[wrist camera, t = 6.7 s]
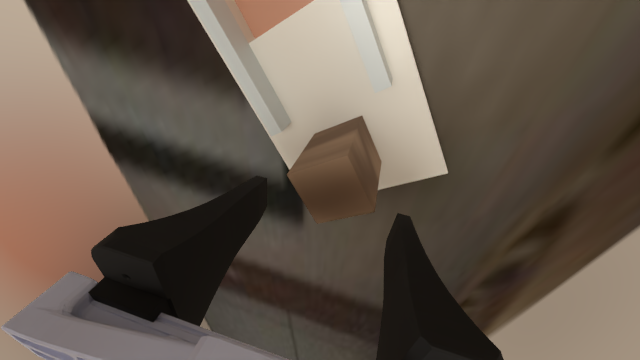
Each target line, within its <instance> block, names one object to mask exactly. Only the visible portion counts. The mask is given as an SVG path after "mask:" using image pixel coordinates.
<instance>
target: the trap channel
mask: <svg viewBox="0 0 640 360" xmlns="http://www.w3.org/2000/svg"><path fill="white" fill-rule="evenodd" d="M187 1H188V3H189V4H190V6H191V8H192V9H193V11H194V12H195V14H196V16H197V17H198V19H199V21H200V22H201V24H202V26H203V27H204V29H205V31H206V32H207V34H208V36H209V37H210V39H211V41H212V42H213V44H214V46H215V47H216V49H217V51H218V52H219V54H220V56H221V57H222V59H223V60H224V62H225V64H226V65H227V67H228V69H229V70H230V72H231V74H232V75H233V77H234V79H235V80H236V82H237V84H238V85H239V87H240V89H241V90H242V92H243V94H244V95H245V97H246V99H247V100H248V102H249V104H250V105H251V107H252V108H253V110H254V112H255V113H256V115H257V117H258V118H259V120H260V122H261V123H262V125H263V127H264V128H265V130H266V132H267V133H268V135H269V137H270V138H271V140H272V142H273V143H274V145H275V147H276V148H277V150H278V152H279V153H280V155H281V157H282V158H283V160H284V161H285V163H286V165H287V166H288V168H289V170H290V169H291V168H292V166H293V165H294V163H295V162H296V160H297V159H298V157H299V156H300V154H301V153H302V151H303V150H304V148H305V147H306V145H307V144H308V142H309V141H310V140H311V138H312V137H313V135H314V134H315V133H318V132H320V131H323V130H325V129H328V128H330V127H333V126H336V125H338V124H341V123H343V122H346V121H349V120H351V119H354V118H356V117H359V116H363V119H364V121H365V123H366V126H367V128H368V130H369V133H370V135H371V138H372V140H373V142H374V145H375V147H376V150H377V152H378V154H379V157H380V159H381V161H382V163H381V170H380V177H379V184H378V190H380V189H384V188H388V187H393V186H397V185H401V184H405V183H409V182H414V181H418V180H422V179H426V178H430V177H435V176H439V175H443V174H447V173H448V171H447V167H446V163H445V160H444V156H443V153H442V150H441V146H440V143H439V139H438V136H437V133H436V129H435V126H434V122H433V119H432V116H431V112H430V109H429V106H428V102H427V99H426V95H425V92H424V89H423V85H422V82H421V79H420V75H419V72H418V68H417V65H416V62H415V58H414V55H413V52H412V48H411V45H410V41H409V38H408V35H407V31H406V28H405V25H404V21H403V18H402V14H401V11H400V8H399V4H398V1H397V0H187Z"/></svg>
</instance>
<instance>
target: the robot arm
mask: <svg viewBox="0 0 640 360" xmlns="http://www.w3.org/2000/svg"><path fill="white" fill-rule="evenodd" d="M266 207H267V178H264V177H260V176H255V177H254V178H252V179H250V180H248V181H247V182H245V183H243V184H241V185H240V186H238V187H236V188H234V189H233V190H231V191H229V192H227V193H225V194H223V195H221V196H219V197H217V198H215V199H213V200H211V201H209V202H207V203H205V204H202V205H200V206H197V207H195V208H192V209H190V210H187V211H184V212H181V213H178V214H175V215H172V216H168V217H165V218H161V219H157V220H153V221H149V222H145V223H140V224H135V225H129V226H124V227H118V228H117V229H116V230H115V231H113V232H112V233H111V234H110V235H108V236H107V237H106V238H104V239H103V240H102V241H100V242H99V243H98V244H97V245H95V246H94V247H93V248H92V250H91V254H92V258H93V260H94V262H95V263H96V265H97V266H98V268H99V269H100V271H101V272H102V274H103V275H104V278H103V279H102V280H101V281H100V282H99V283H98V282H96V281H95V280H94V279H91V278H89V277H86V276H84V275H81V274H78V273H75V272H68V273H67V274H66V275H65V276H64V277H62V278H61V279H60V280H59V281H57V282H56V283H55V284H54V285H52V286H51V287H50V288H49V289H47V290H46V291H45V292H44V293H42V294H41V295H40V296H39V297H38V298H36V299H35V300H34V301H33V302H31V303H30V304H29V305H28V306H26V307H25V308H24V309H23V310H21V311H20V312H19V313H18V314H16V315H15V316H14V317H13V318H12V319H10V320H9V321H8V322H7V323H5V324H4V325H3V326H2V330H3V331H5V332H6V333H7V334H9V335H10V336H11V337H13V338H14V339H15V340H17V341H18V342H19V343H21V344H22V345H23V346H25V347H26V348H27V349H29V350H30V351H31V352H33V353H34V354H35V355H37V356H39V357H41V358H43V359H46V360H289V359H286V358H284V357H281V356H278V355H275V354H273V353H270V352H267V351H265V350H262V349H259V348H256V347H254V346H251V345H248V344H246V343H243V342H240V341H237V340H235V339H232V338H229V337H227V336H224V335H221V334H218V333H216V332H213V331H210V330H208V329H204V328H202V327H200V325H201V322H202V320H203V318H204V316H205V314H206V312H207V309H208V307H209V305H210V303H211V301H212V299H213V297H214V295H215V293H216V291H217V289H218V287H219V285H220V283H221V281H222V279H223V277H224V276H225V274H226V272H227V270H228V268H229V266H230V265H231V263H232V261H233V259H234V257H235V256H236V254H237V253H238V251H239V250H240V248H241V247H242V245H243V244H244V243H245V241H246V240H247V238H248V237H249V235H250V234H251V233H252V231H253V230H254V228H255V227H256V225H257V224H258V222H259V221H260V219H261V217H262V215H263V213H264V211H265V209H266ZM376 360H504V359H503V357H502V354H501V351H500V350H499V349H498V348H497V347H496V346H495V345H494V344H493V343H492V342H491V341H490V340H489V339H488V338H487V336H486V335H485V334H484V333H483V332H482V331H481V330H480V329H479V328H478V327H477V326H476V325H475V324H474V322H473V321H472V320H471V319H470V318H469V317H468V316H467V314H466V313H465V312H464V311H463V310H462V308H461V307H460V306H459V304H458V303H457V302H456V300H455V299H454V298H453V297H452V295H451V294H450V293H449V291H448V290H447V288H446V287H445V285H444V284H443V282H442V281H441V279H440V278H439V276H438V274H437V273H436V271H435V269H434V268H433V266H432V264H431V262H430V260H429V258H428V257H427V255H426V253H425V250H424V248H423V246H422V244H421V242H420V240H419V238H418V235H417V233H416V230H415V228H414V225H413V223H412V220H411V218H410V216H406V215H402V214H399V213H398V214H397V216H396V219H395V221H394V223H393V226H392V228H391V231H390V233H389V236H388V238H387V241H386V248H385V256H384V300H383V312H382V320H381V328H380V336H379V344H378V351H377V358H376Z"/></svg>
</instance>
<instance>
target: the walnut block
mask: <svg viewBox="0 0 640 360" xmlns="http://www.w3.org/2000/svg"><path fill="white" fill-rule="evenodd" d="M381 163H382V161H381V159H380V157H379V154H378V152H377V150H376V147H375V145H374V142H373V140H372V138H371V135H370V133H369V130H368V128H367V126H366V123H365V121H364V119H363V116H359V117H356V118H354V119H351V120H349V121H346V122H343V123H341V124H338V125H336V126H333V127H330V128H328V129H325V130H323V131H320V132H318V133H315V134H314V135H313V137H312V138H311V140H310V141H309V142H308V144H307V145H306V147H305V148H304V150H303V151H302V153H301V154H300V156H299V157H298V159H297V160H296V162H295V163H294V165H293V166H292V168H291V169H290V171H289V172H288V174H287V176H288V178H289V179H290V181H291V183H292V184H293V186H294V187H295V189H296V191H297V192H298V194H299V196H300V197H301V199H302V200H303V202H304V204H305V205H306V207H307V209H308V210H309V212H310V213H311V215H312V217H313V218H314V220H315V221H316V223H317V224H318V223H323V222H328V221H332V220H337V219H342V218H347V217H352V216H357V215H362V214H367V213H372V212H375V206H376V199H377V191H378V184H379V177H380V170H381Z"/></svg>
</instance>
